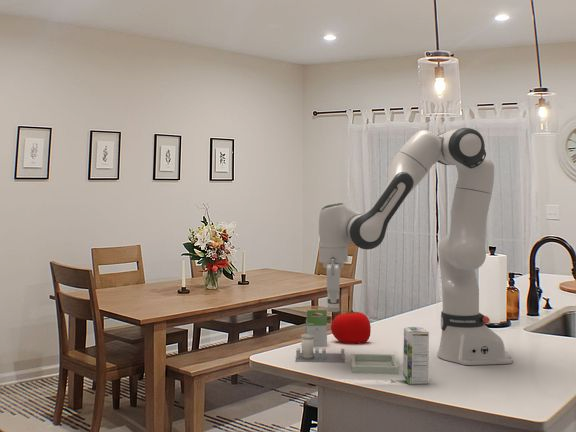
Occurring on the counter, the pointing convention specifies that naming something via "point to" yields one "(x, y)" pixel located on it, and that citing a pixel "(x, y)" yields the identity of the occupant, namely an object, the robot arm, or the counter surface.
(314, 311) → the ink box
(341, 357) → the holder
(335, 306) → the fuse
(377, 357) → the tray
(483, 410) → the counter surface
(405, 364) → the syrup box
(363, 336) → the tomato
